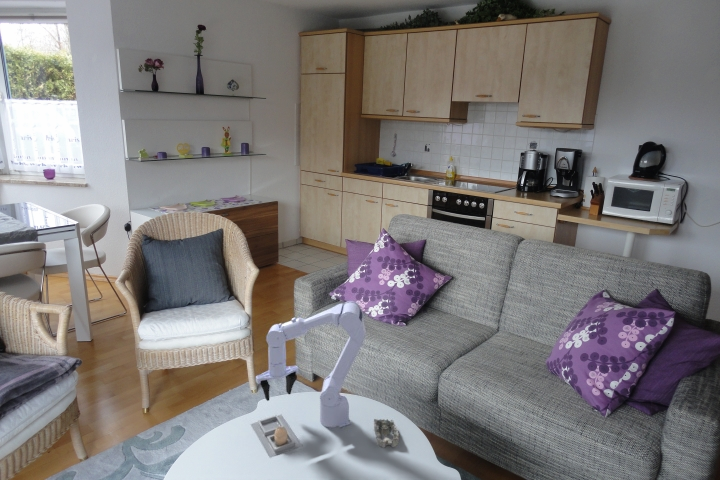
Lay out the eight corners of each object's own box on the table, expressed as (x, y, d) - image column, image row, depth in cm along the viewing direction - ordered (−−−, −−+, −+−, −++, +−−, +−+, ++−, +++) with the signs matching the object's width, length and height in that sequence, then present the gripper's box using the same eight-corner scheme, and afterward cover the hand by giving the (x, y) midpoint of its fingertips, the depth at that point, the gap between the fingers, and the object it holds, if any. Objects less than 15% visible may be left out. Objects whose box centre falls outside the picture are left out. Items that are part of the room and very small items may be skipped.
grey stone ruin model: (399, 448, 152) (400, 437, 151) (376, 448, 152) (376, 438, 151) (394, 426, 163) (395, 416, 162) (372, 427, 162) (373, 416, 161)
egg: (284, 437, 154) (284, 422, 152) (289, 444, 151) (289, 429, 149) (272, 441, 152) (272, 426, 150) (277, 448, 149) (277, 433, 147)
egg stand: (281, 416, 165) (281, 411, 165) (302, 448, 151) (302, 442, 150) (250, 426, 160) (250, 421, 159) (269, 460, 145) (269, 454, 145)
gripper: (292, 349, 165) (293, 384, 168) (252, 359, 157) (253, 395, 161) (301, 359, 159) (301, 394, 162) (259, 369, 151) (260, 406, 155)
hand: (277, 395), depth 161 cm, fingers open, 7 cm apart
